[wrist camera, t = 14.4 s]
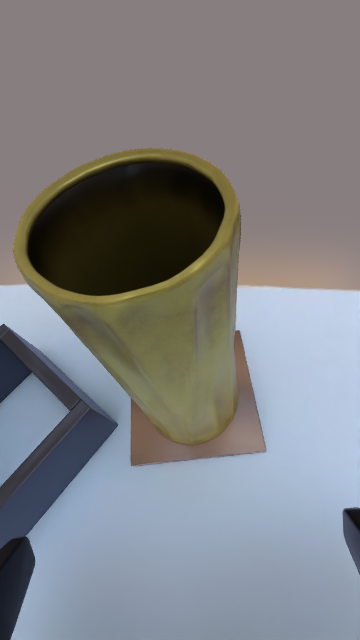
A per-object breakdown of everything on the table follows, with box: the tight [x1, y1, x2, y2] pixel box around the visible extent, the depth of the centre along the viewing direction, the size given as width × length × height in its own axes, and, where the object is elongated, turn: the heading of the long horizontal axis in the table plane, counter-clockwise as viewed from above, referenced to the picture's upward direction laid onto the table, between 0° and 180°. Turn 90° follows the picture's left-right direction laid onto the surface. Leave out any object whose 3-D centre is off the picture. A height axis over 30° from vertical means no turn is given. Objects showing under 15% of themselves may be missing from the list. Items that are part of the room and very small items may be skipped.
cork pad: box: [131, 330, 266, 466], centre depth 19 cm, size 8×8×1 cm
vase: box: [13, 148, 241, 444], centre depth 12 cm, size 6×6×14 cm
